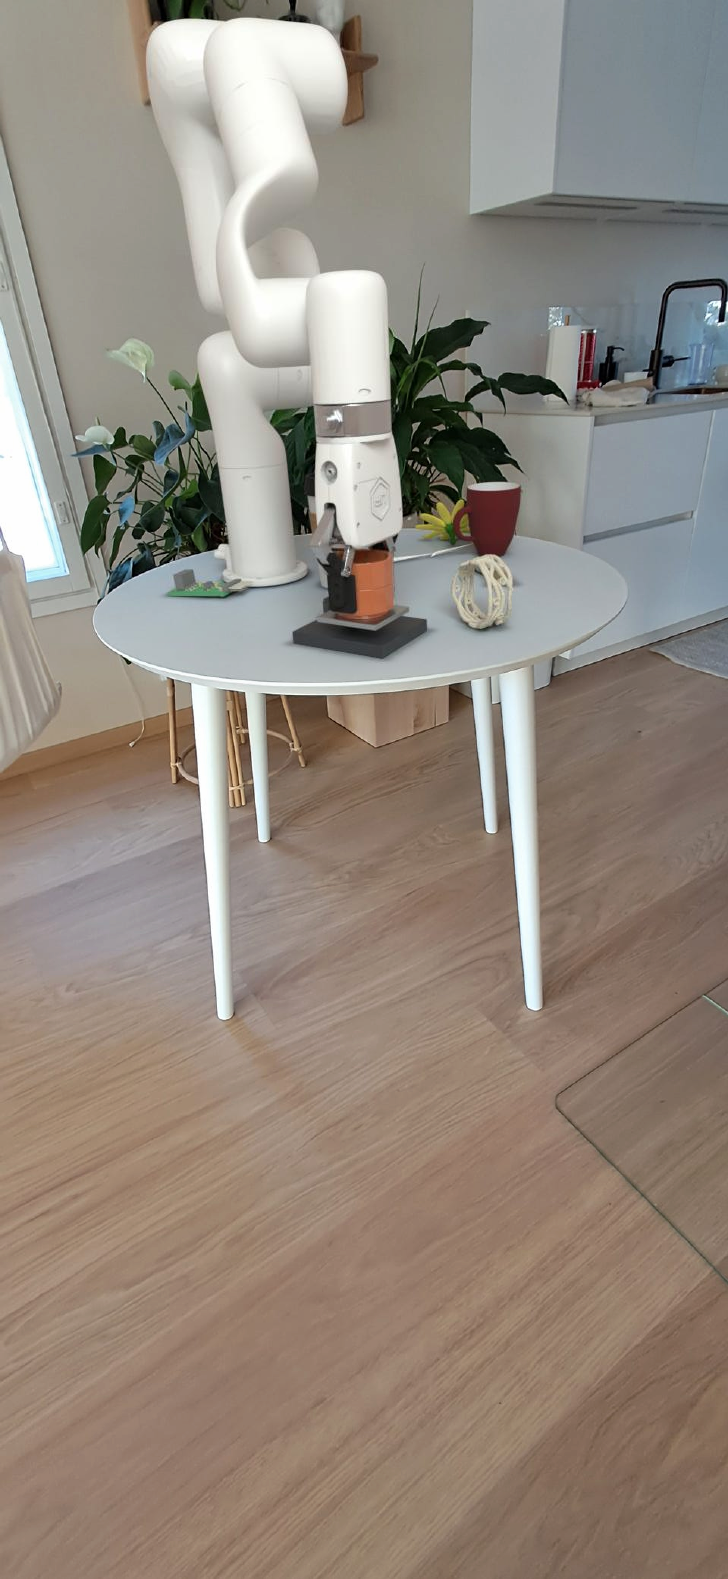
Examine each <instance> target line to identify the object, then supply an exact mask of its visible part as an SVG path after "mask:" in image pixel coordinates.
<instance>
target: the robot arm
mask: <svg viewBox="0 0 728 1579" xmlns="http://www.w3.org/2000/svg"><path fill="white" fill-rule="evenodd" d="M145 69H146V70H145V72H146V81H147V89H148V96H149V100H150V105H151V110H152V113H153V117H154V121H155V123H156V126H157V127H156V128H157V130H158V132H159V136H160V138H161V141H162V143H163V146H164V148H165V152H166V153H167V156H168V158H169V161H170V163H171V166H172V168H173V171H174V174H175V176H176V181H177V183H178V186H179V191H180V195H181V201H182V206H183V212H184V213H183V214H184V219H185V225H186V226H185V227H186V233H187V238H188V246H189V251H190V256H191V257H190V258H191V262H192V269H193V276H194V281H195V285H196V289H197V295H198V298H199V301H200V303H201V305H202V306H203V308H204V310H205V311H206V312H207V313H208V314H210V315H212V316H213V317H218V318H223V319H226V320H227V324H228V327H229V330H223V331H219V332H216V333H214V334H211V335H210V336H208V337H207V338H205V339H204V340H203V341H202V343H201V344H200V346H199V348H198V351H197V356H196V366H197V373H198V377H199V378H198V379H199V382H200V385H201V386H200V387H201V389H202V392H203V397H204V401H205V404H206V407H207V411H208V415H209V420H210V424H211V428H212V435H213V440H214V447H215V453H216V460H217V468H218V474H219V481H220V487H221V495H222V503H223V509H224V517H225V526H226V532H227V538H228V543H221V544H219V545H218V546H217V549H215V550H214V552H213V558H214V559H215V560H219V561H225V562H226V568H224V570H223V571H222V579H223V581H224V583H229V582H231V581H232V580H234V579H241V581H253V583H250V584H253V585H250V584H247V586H245V587H248V588H260V587H272V586H279V585H286V584H289V583H292V582H296V581H298V580H301V579H303V578H304V577H305V576H307V574H308V572H309V571H308V565H307V564H306V563H305V562H303V561H301V560H298V559H297V555H296V545H295V534H294V533H295V532H294V525H293V524H294V523H293V513H292V512H293V511H292V502H291V492H290V490H291V489H290V481H289V480H290V479H289V470H288V461H287V453H286V447H285V444H284V442H283V439H282V437H281V436H280V434H279V433H278V431H277V430H276V429H275V427H274V426H272V424H271V423H270V421H269V420H268V419H267V417H266V416H265V415H264V414H265V412H272V411H278V410H291V409H301V408H309V407H313V416H314V427H315V441H316V446H315V464H314V465H315V466H314V473H315V503H316V519H317V528H316V530H315V532H314V534H313V535H312V537H311V539H310V541H309V548H310V550H311V551H312V553H313V554H314V556H315V557H317V558H316V560H317V559H318V562H319V564H320V565H321V566H322V567H323V573H324V574H325V575H327V584H328V588H327V595H328V596H327V597H329V608H330V610H331V611H332V612H339V613H347V614H354V613H356V612H357V599H356V582H355V575H350V574H351V569H352V564H353V559H354V554H355V549H377V550H384V551H388V552H390V553H392V554H393V565H394V566H395V564H394V563H395V562H394V558H395V556H396V553H397V548H396V542H397V539H398V537H399V533H400V532H401V530H402V529H403V524H404V522H403V518H404V517H403V499H402V486H401V477H400V467H399V459H398V452H397V447H396V443H395V438H394V434H393V430H392V429H393V428H392V400H391V399H392V395H391V362H390V330H389V302H388V299H389V298H388V288H387V284H386V281H385V280H384V278H383V276H382V275H381V274H380V273H378V272H375V271H372V270H366V269H347V270H335V271H327V272H322V273H321V267H320V264H319V263H320V262H319V259H318V256H317V251H316V250H315V248H314V245H313V244H312V242H311V240H310V238H309V237H308V236H307V235H306V234H305V233H303V232H302V231H301V230H298V229H297V228H296V229H295V228H291V227H285V226H287V225H288V224H290V223H291V222H293V221H295V220H296V219H297V218H298V217H300V216H301V215H302V214H304V212H305V211H306V210H307V209H308V208H309V206H310V205H311V204H312V202H313V201H314V199H315V197H316V194H317V191H318V187H319V181H320V180H319V179H320V178H319V176H320V175H319V169H318V165H317V164H318V163H317V160H316V158H315V154H314V151H313V148H312V144H311V140H310V137H309V135H317V136H328V135H330V134H333V133H334V132H336V130H337V129H338V128H339V126H340V125H341V124H342V122H343V120H344V119H343V118H344V116H345V113H346V109H347V104H348V96H349V95H348V94H349V89H348V88H349V84H348V83H349V82H348V74H347V67H346V63H345V60H344V56H343V54H342V50H341V48H340V46H339V44H338V42H337V40H336V38H335V37H334V36H333V35H332V33H331V32H330V31H329V30H328V29H327V28H325V27H323V26H322V25H318V24H313V23H308V22H298V21H286V20H278V19H269V18H260V17H238V18H231V19H228V20H217V19H215V20H214V19H206V18H205V19H204V18H203V19H202V18H181V19H174V20H169V21H166V22H163V23H162V24H160V25H157V27H155V29H154V30H152V32H151V34H150V35H149V37H148V41H147V44H146V51H145ZM215 126H217V129H218V132H219V133H218V132H217V130H216V129H215ZM342 542H345V543H342ZM337 551H342V552H344V555H343V560H341V559H340V558H339V557H338V555H337ZM318 562H317V563H318ZM395 591H396V590H395V585H394V592H395Z"/></svg>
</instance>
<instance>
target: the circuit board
mask: <svg viewBox="0 0 728 1579" xmlns="http://www.w3.org/2000/svg"><path fill="white" fill-rule="evenodd" d="M172 577H173V582H174V587H175V588H174V589H172V590H170V591H168V592H167V596H168V597H221V598H224V597H226V596H227V595H230V594H232V593H233V592H240V590H243V589H248V588H249V587H245V586H247V584H250V583H253V581H241V579H234V580H232V581H231V582H229V583H226V582H213V581H212V580H207V581H205V582H196V576H195V572H194V569H193V568H192V569H189V568H188V569H186V568H185V569H183V570H181V571H178V572H177V573H174V574H172ZM250 585H253V584H250Z"/></svg>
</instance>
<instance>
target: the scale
mask: <svg viewBox="0 0 728 1579" xmlns="http://www.w3.org/2000/svg"><path fill="white" fill-rule="evenodd" d="M328 611H330V608H329V597H328V596H327V597H324V598H323V601H322V612H323V613H326V612H328ZM323 613H322V614H323ZM427 631H428V620H427V618H421V617H415V616H414V617H412V616H406V615H402V616H400V617H399V618H397V619H395V620H393V621H392V622H390V623H388V624H386V625H385V626H383V627H381V628H379V629H378V630H376V631H375V630H368V629H362V628H355V627H348V626H342V625H335V624H328V623H322V622H317V619H315V620H312V621H311V622H309V623H307V624H305V625H303V626H301V627H298V628H297V629H295V630H292V642H293V643H292V644H296V645H302V646H310V647H315V648H321V649H324V650H325V649H326V650H332V651H338V652H343V653H349V654H354V655H355V654H356V655H360V656H361V655H362V656H367V657H373V658H379V659H384V658H386V657H387V656H389V655H391V654H392V653H394V652H395V651H397V650H399V649H400V648H402V647H404V646H405V645H407V644H408V643H410V642H412V641H413V640H415V639H416V638H418V637H419V636H421V635H422V634H424V633H426V632H427Z"/></svg>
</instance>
